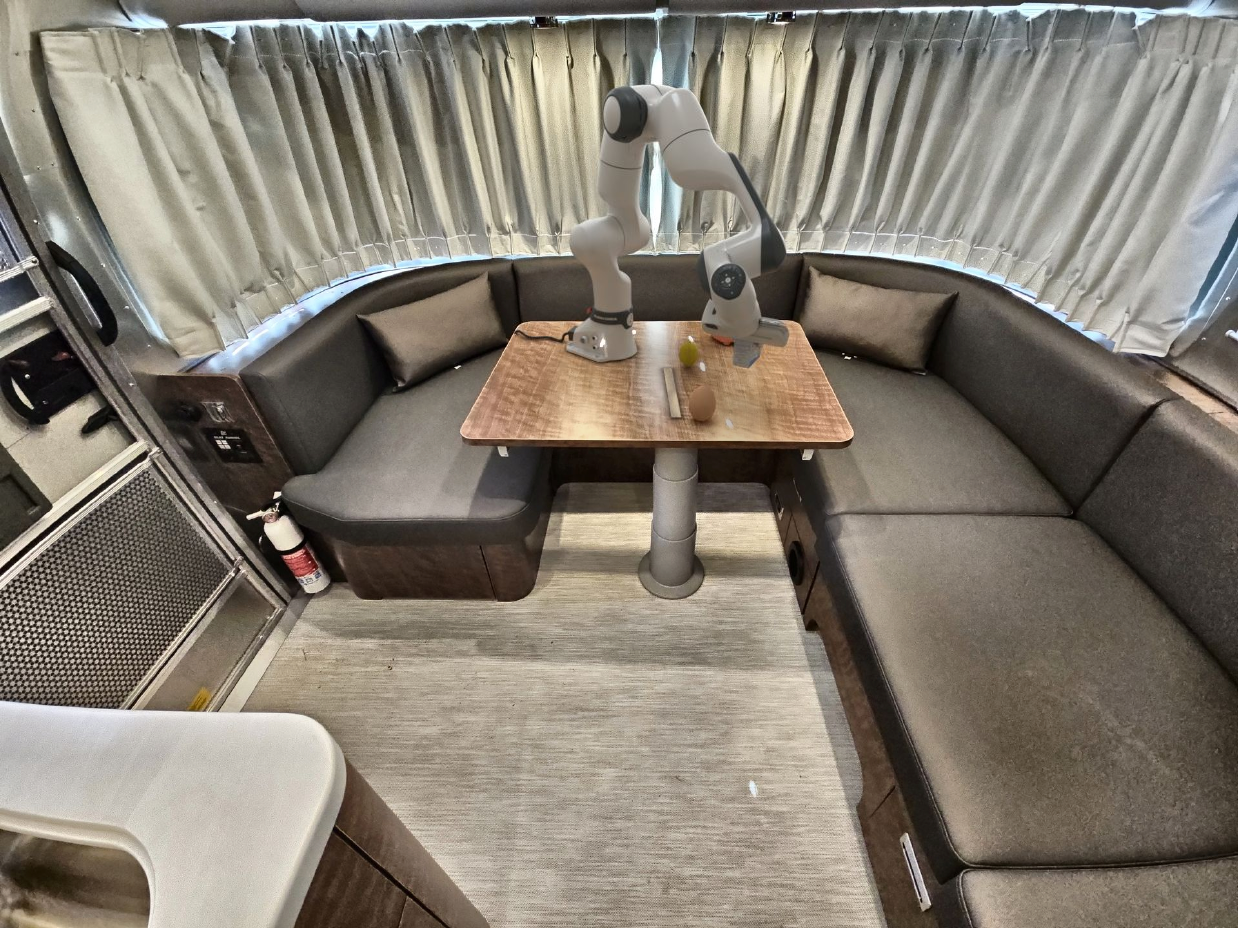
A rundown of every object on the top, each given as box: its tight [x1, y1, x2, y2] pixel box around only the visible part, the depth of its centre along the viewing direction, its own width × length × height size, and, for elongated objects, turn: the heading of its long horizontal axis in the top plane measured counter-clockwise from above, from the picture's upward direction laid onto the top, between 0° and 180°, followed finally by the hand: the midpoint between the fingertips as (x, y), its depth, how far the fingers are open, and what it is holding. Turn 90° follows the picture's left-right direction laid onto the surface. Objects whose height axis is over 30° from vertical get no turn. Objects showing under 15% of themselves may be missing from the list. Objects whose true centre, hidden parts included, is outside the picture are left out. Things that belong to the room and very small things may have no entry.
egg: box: [687, 385, 717, 422], centre depth 129 cm, size 7×7×9 cm
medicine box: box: [732, 339, 762, 370], centre depth 132 cm, size 8×4×9 cm, turn 148°
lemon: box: [678, 340, 699, 368], centre depth 153 cm, size 6×6×8 cm
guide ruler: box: [662, 367, 682, 419], centre depth 143 cm, size 2×28×1 cm, turn 0°
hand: (748, 342), depth 132 cm, fingers closed on medicine box, 4 cm apart
